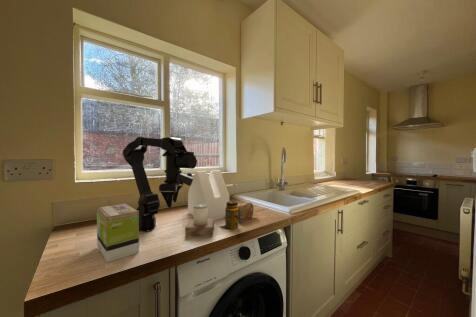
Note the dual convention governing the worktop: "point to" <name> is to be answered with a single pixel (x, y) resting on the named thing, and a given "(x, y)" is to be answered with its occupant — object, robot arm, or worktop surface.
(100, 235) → the tea box
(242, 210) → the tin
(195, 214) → the canister
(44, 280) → the worktop surface
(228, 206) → the condiment
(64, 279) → the worktop surface
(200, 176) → the white plastic jug
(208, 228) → the riser
